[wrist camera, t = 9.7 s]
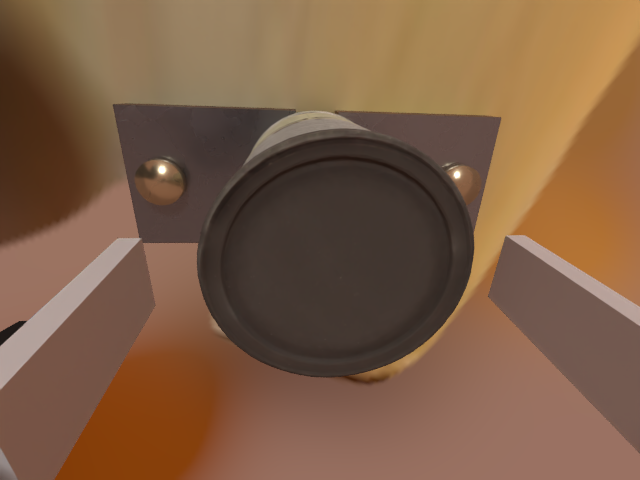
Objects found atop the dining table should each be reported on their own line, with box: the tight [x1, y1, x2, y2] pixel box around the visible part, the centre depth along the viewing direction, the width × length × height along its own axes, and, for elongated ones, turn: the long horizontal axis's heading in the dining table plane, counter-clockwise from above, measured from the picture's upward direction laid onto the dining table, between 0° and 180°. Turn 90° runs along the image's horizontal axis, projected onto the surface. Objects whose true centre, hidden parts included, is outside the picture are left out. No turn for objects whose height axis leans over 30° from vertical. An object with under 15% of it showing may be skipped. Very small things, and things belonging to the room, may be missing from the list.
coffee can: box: [197, 111, 474, 377], centre depth 19 cm, size 10×10×14 cm
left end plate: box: [113, 103, 296, 243], centre depth 25 cm, size 12×10×3 cm
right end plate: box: [335, 111, 501, 233], centre depth 26 cm, size 12×10×3 cm
